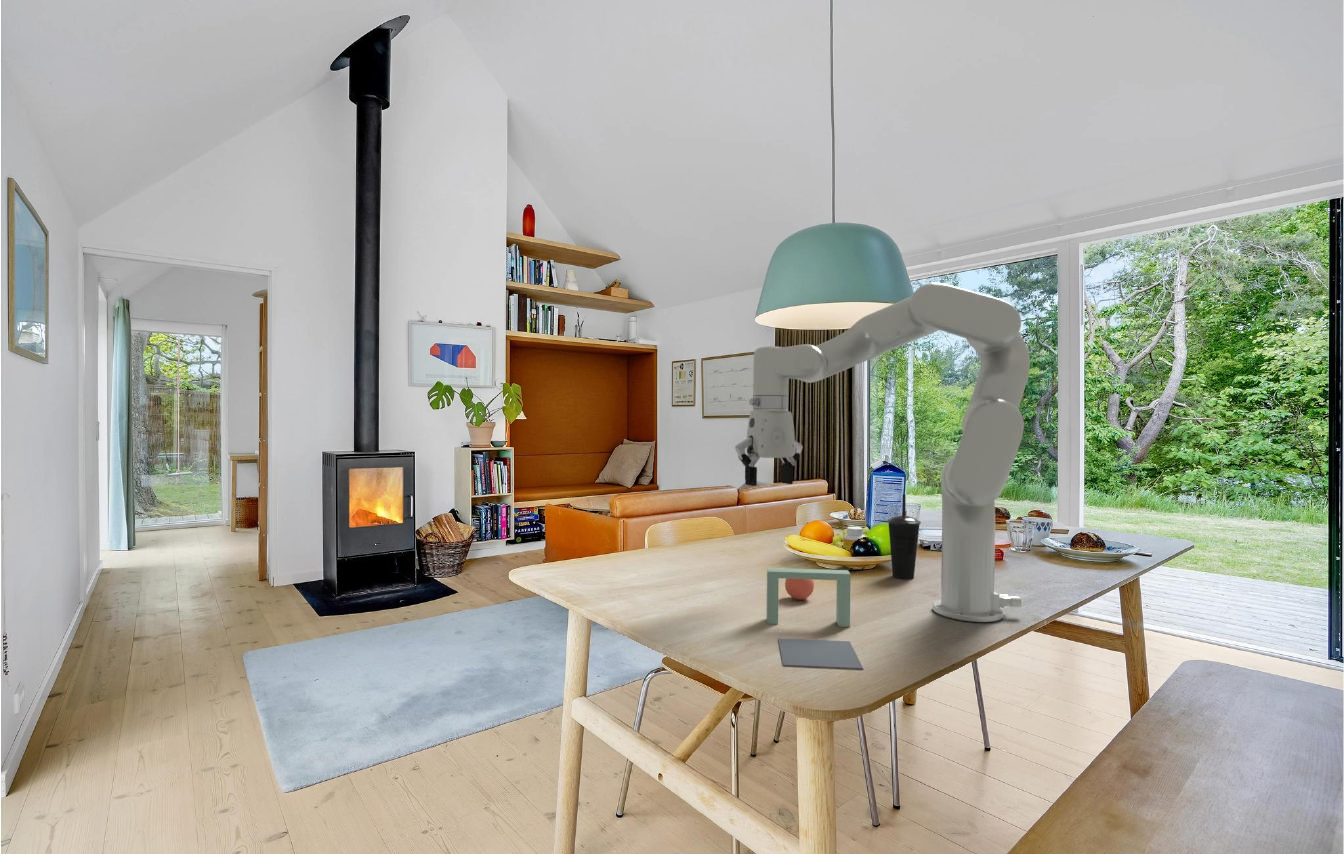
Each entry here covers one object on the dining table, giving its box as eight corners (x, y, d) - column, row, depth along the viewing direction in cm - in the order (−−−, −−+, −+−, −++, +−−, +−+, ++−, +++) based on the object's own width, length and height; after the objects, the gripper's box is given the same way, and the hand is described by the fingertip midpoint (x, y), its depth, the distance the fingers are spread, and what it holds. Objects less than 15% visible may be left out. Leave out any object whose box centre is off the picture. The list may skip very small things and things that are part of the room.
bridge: (766, 618, 123) (767, 567, 122) (847, 621, 121) (847, 570, 121) (767, 623, 120) (767, 571, 119) (850, 626, 118) (850, 573, 118)
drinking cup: (923, 575, 158) (924, 494, 157) (916, 582, 151) (917, 497, 151) (890, 571, 162) (891, 492, 161) (883, 577, 155) (883, 494, 155)
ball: (812, 595, 139) (812, 567, 139) (815, 603, 133) (815, 574, 133) (783, 594, 140) (784, 567, 139) (786, 602, 134) (786, 573, 133)
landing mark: (849, 642, 110) (849, 641, 110) (863, 669, 98) (863, 668, 98) (778, 639, 111) (778, 638, 111) (783, 665, 99) (783, 664, 99)
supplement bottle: (855, 570, 162) (855, 530, 162) (838, 566, 167) (839, 527, 167) (870, 568, 166) (870, 528, 165) (853, 563, 170) (853, 525, 170)
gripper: (748, 403, 131) (746, 487, 131) (813, 405, 139) (811, 484, 140) (727, 404, 137) (726, 484, 138) (790, 405, 146) (789, 481, 146)
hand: (769, 484), depth 139 cm, fingers open, 9 cm apart
